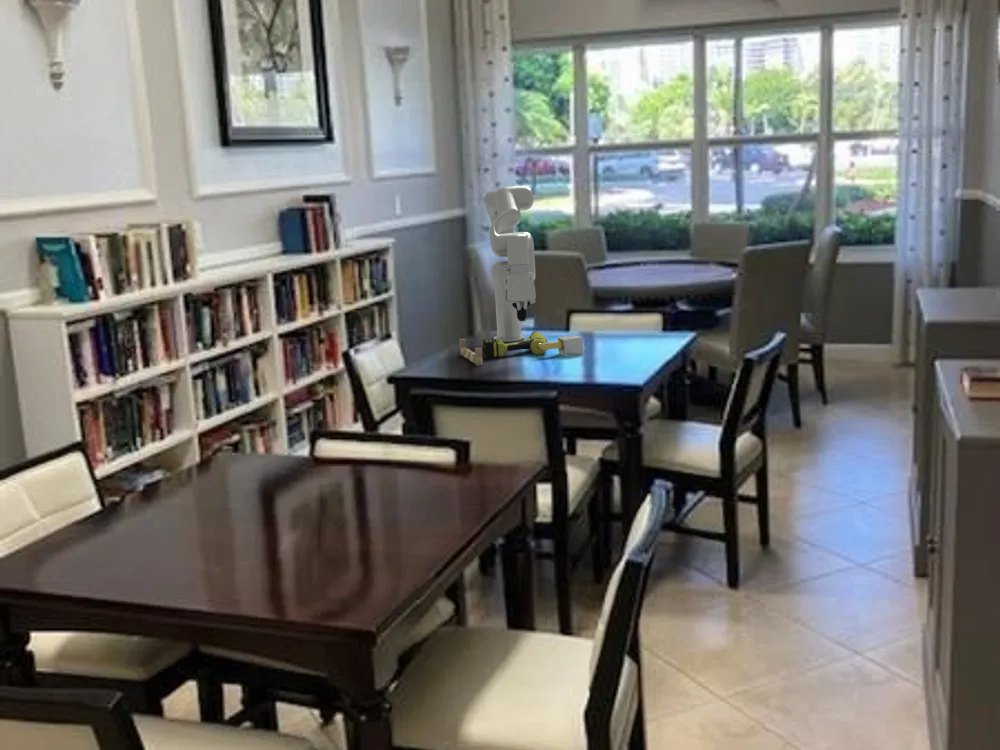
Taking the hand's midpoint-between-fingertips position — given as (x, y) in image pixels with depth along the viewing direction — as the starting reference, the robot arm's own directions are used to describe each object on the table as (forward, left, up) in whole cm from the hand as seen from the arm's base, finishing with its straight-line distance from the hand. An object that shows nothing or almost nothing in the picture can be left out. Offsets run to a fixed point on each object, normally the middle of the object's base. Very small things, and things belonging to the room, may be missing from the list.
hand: (521, 320), depth 375 cm
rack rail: (-10, -17, -14) cm, 24 cm away
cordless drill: (-18, +2, -15) cm, 23 cm away
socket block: (0, +18, -14) cm, 23 cm away
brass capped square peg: (0, +11, -12) cm, 16 cm away
